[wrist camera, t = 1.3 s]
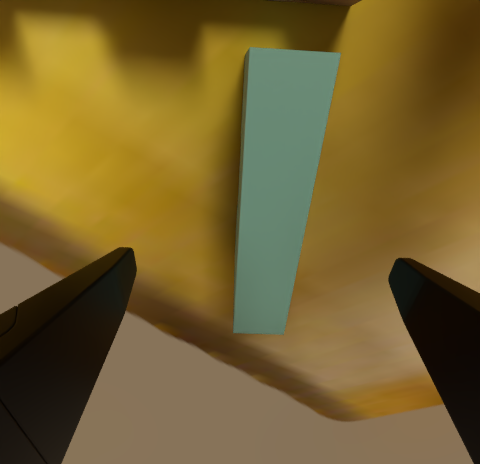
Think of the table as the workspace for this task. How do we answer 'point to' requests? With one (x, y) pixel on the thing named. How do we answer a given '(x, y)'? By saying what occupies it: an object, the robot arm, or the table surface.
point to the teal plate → (277, 177)
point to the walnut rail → (325, 2)
